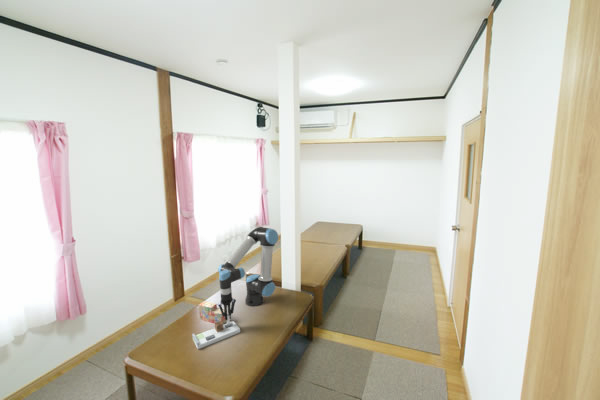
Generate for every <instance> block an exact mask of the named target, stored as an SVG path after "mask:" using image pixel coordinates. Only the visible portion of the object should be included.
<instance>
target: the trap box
mask: <svg viewBox="0 0 600 400" xmlns="http://www.w3.org/2000/svg"><path fill="white" fill-rule="evenodd" d="M223 328H224V330H222V331H219V332H217V331H216V330H215V327H214V328H212V329H209V330H206V331H203V332H200V333H198V334H195V333H194V332H193V333H192V341H193V342H194V343H193V344H194V345H195V346H196V349H197V350H200V349H203V348H205V347H208V346H210V345H212V344H215V343H217V342H220V341H222V340H225V339H227V338H230V337H232V336H234V335H237V334H240V333H241V328H240V327H239V326H238V324H237V323H236V322H235V321H234V320H233V321H230V324H229V325H228V324H227V323H224V324H223Z"/></svg>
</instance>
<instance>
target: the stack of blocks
mask: <svg viewBox="0 0 600 400" xmlns="http://www.w3.org/2000/svg"><path fill="white" fill-rule="evenodd" d="M222 309H223V312H224V308H222ZM198 313H199V320H201V321H204V322H208V323H211V324H214V325H215V323H217V322H219V321H221V322H222V323H223V325H224V324H227V320H225V316H223V315H222V313H221V310H220V308H219V307H218V303H215V302H211V301H206V300H204V301H202V302H201V303H199V304H198Z"/></svg>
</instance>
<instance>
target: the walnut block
mask: <svg viewBox="0 0 600 400" xmlns="http://www.w3.org/2000/svg"><path fill="white" fill-rule="evenodd" d="M223 325H224V324H223V323H222V322H221V321H219V322H217V323H215V324H214V328H215V330H216V331H217V332H219V331H222V330H224V328H223Z"/></svg>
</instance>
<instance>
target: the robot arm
mask: <svg viewBox="0 0 600 400" xmlns="http://www.w3.org/2000/svg"><path fill="white" fill-rule="evenodd" d="M245 238H246V239H245V240H244V241H243V242H241V244H240V245H239V247H238V248H237V249H236V250H235V252H234V253H233V254H232V255H231V256H230V258H228V260H227V261H226V262H225V263H224V264H220V265H219V266H218V268H217V269H218V270H217V272H218V273H219V277H218V280H219V289H220V291H219V292H220V302H219V303H217V307H218V308H220V310H221V313H222V315H223V316H225V320H227V322H226V324H228V325H229V324H230V322H231V319H232V315H233V314H234V310H235V305H236V304H235V303H236V301H237V300H236V298H233V293H232V283H234V282H237V281H239V280H241V279H242V278H244V277H245V275H246V272H245V269H244V268H243V267H238V268H236V267H237V265H238V264H239V263H240V262H241V261H242V259H243V258H244V257H245V256H246V255H247V253H248V252H249V251H250V250H251V248H252V247H253V246H254V245H256V244H257V243H258V242H260V246H261V259H260V274H258V273H257V274H256V273H254V274H250V275H248V276H246V280H245V283H246V296H245V303H244V304H245V305H246V306H249V307H257V306H260V305H262V304H263V302H264V297H267V298H269V297H270V296H272V295H273V294H274V292H275V290H276V284H275V283H274V282H273V279H274V278H273V277H272V268H273V267H272V265H273V248H274V247H276V246H275V245H276V244H277V242H278V241H279V234H278V232H277V230H276V229H273V228H271V227H270V228H268V227H263V226H258V227H256V228H254V229H253V230H251V231H250V232H249V233H248V234H247V235H246V237H245ZM222 306H223V307H222ZM223 309H224V312H223Z"/></svg>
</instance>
